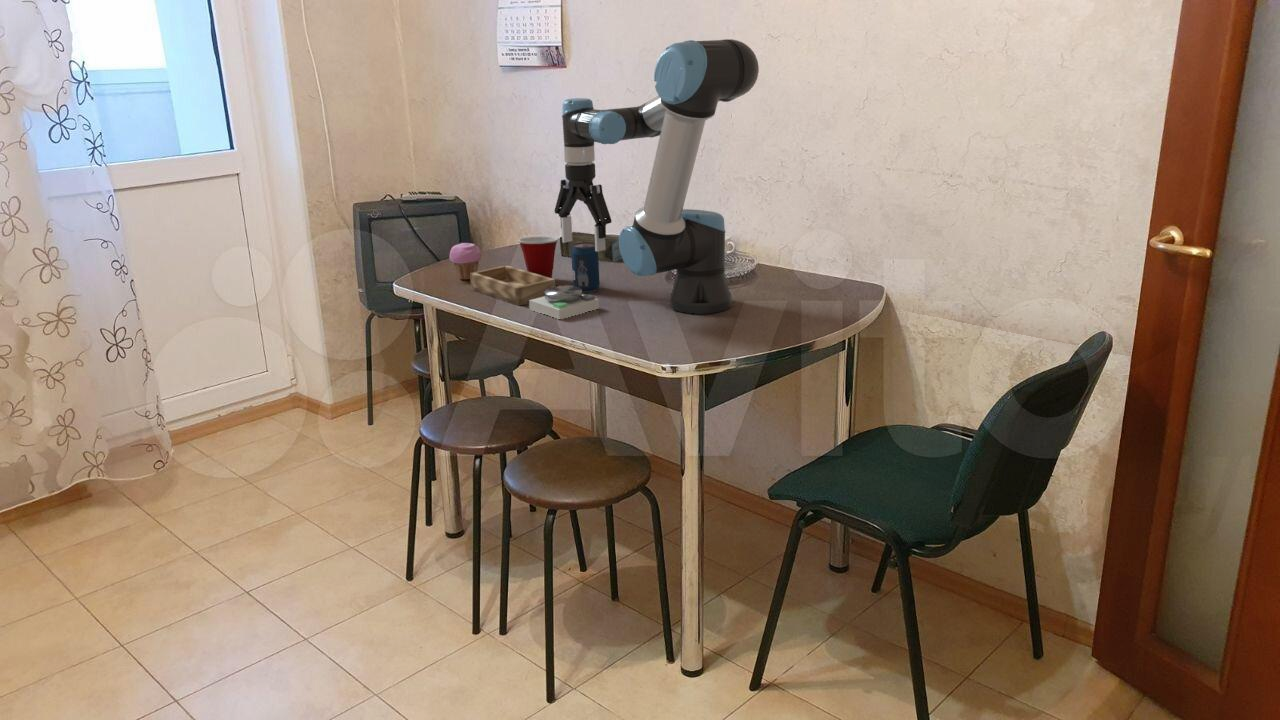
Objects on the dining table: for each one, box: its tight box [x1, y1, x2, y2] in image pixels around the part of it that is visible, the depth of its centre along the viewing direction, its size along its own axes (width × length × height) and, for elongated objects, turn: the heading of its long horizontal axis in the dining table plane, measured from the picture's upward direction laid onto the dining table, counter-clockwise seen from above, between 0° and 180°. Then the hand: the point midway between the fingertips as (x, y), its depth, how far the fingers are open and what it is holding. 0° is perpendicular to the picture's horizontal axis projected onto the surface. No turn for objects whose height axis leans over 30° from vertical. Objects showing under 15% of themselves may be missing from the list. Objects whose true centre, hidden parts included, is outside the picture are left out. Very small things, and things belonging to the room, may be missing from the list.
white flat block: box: [528, 293, 600, 320], centre depth 227 cm, size 12×12×3 cm
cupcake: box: [449, 242, 482, 281], centre depth 257 cm, size 9×9×10 cm
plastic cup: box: [517, 235, 559, 279], centre depth 252 cm, size 11×11×12 cm
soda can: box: [571, 242, 601, 294], centre depth 242 cm, size 7×7×12 cm
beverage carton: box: [559, 231, 623, 263], centre depth 278 cm, size 8×19×7 cm, turn 59°
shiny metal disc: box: [545, 285, 583, 302], centre depth 227 cm, size 9×9×2 cm
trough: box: [469, 264, 556, 307], centre depth 243 cm, size 22×12×4 cm, turn 42°
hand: (583, 246), depth 241 cm, fingers open, 13 cm apart
